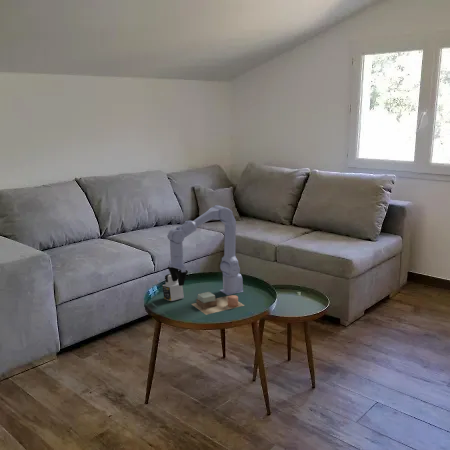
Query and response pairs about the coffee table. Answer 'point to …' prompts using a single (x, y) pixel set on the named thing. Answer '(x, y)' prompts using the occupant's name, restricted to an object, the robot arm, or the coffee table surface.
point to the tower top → (206, 297)
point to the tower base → (206, 304)
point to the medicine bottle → (172, 289)
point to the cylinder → (232, 301)
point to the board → (221, 306)
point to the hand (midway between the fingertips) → (178, 283)
